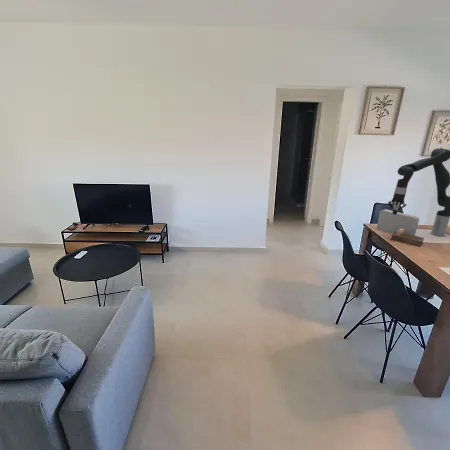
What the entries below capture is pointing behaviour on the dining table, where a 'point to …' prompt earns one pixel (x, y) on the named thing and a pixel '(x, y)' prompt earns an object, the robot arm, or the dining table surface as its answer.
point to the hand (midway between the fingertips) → (394, 214)
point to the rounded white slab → (397, 222)
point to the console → (408, 239)
